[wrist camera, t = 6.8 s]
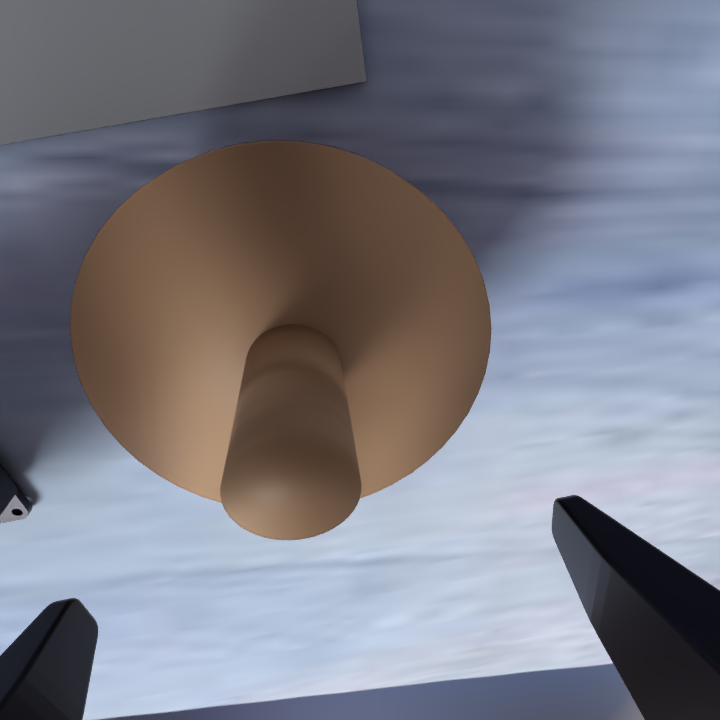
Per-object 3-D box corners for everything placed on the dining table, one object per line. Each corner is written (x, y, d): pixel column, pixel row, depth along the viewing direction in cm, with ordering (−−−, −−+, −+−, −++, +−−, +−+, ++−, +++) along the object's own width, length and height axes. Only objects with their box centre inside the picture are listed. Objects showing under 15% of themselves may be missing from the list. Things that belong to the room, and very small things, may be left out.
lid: (174, 517, 17) (120, 697, 12) (-3, 187, 11) (-266, 262, 6) (482, 454, 17) (561, 603, 12) (474, 100, 11) (622, 98, 6)
